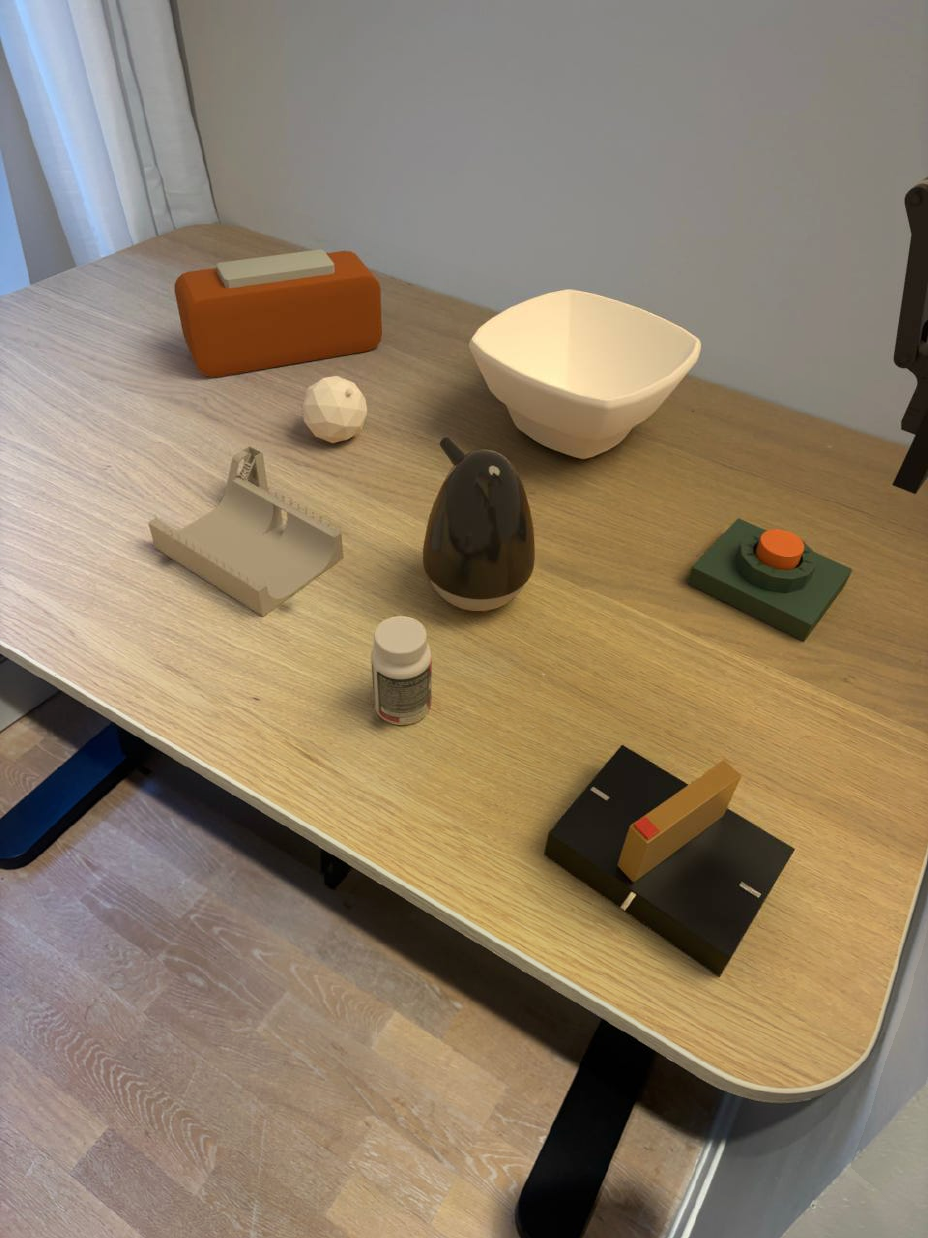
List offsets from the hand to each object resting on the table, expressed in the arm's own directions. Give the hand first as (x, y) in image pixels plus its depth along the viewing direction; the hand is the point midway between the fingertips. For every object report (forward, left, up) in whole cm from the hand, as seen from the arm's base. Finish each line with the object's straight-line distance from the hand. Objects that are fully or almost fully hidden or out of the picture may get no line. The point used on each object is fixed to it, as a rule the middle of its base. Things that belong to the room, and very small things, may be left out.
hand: (910, 479), depth 56 cm
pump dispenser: (+30, +5, -24) cm, 39 cm away
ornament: (+58, -5, -24) cm, 63 cm away
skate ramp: (+50, +14, -24) cm, 57 cm away
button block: (+9, -14, -24) cm, 29 cm away
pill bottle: (+26, +20, -24) cm, 41 cm away
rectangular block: (+2, +19, -21) cm, 29 cm away
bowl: (+38, -24, -24) cm, 51 cm away
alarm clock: (+77, -15, -24) cm, 82 cm away
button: (+9, -14, -21) cm, 26 cm away
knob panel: (+2, +19, -24) cm, 31 cm away
